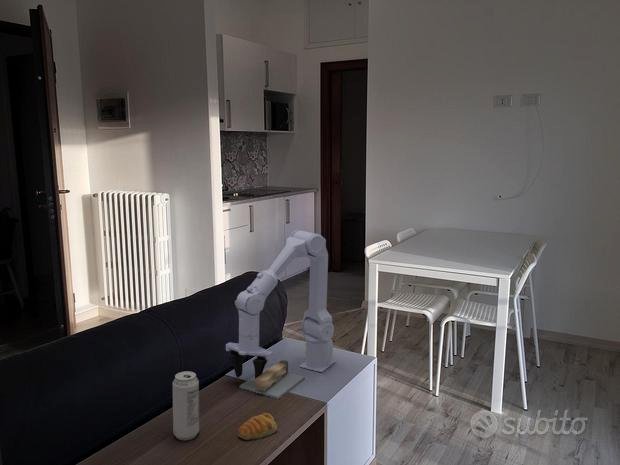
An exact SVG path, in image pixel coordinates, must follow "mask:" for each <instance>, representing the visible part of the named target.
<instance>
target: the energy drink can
mask: <svg viewBox="0 0 620 465" xmlns="http://www.w3.org/2000/svg"><path fill="white" fill-rule="evenodd" d="M199 389H200V381H199V379H198V378H197V374H196V373H195V372H193V371H187V370H186V371H181V372H177V373H176V374H175V375H174V379H173V381H172V426H173V430H172V431H173V432H172V433H173V435H174V436H175V437H176V439H177V440H178V441H179V440H180V441H189V440H192V439H195V438H196V436H197V435H198V433H199V432H200V390H199Z"/></svg>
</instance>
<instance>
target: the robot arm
mask: <svg viewBox="0 0 620 465" xmlns="http://www.w3.org/2000/svg"><path fill="white" fill-rule="evenodd" d="M326 243H327V240H326V238H325V237H324V236H322V235H321V234H320V233H314V232H310V231H305V230H302V229H295V230H294V231H292V233H291V234H290V236H288V237H287V239H286V243H285V246H284V247H283V249H282V250H281V252H280V253H278V255H277V257H276V259H274V261H273V263H272V264H271V265H270V267H269V268H268V269H265V270H261V271H260V272H258V274H256V278H254V280H253V281H252V283H251V284H250V285H249V286H247V288H246V290H243V291H241V292H239V294H238V295H237V296H236V300H235V301H234V305H235V307H236V309H237V310H238V342H237V343H235V342H231V341H230V342H228V343H226V344H225V351H226V352H230V353H229V354H228V359H229V361H230V363H231V364H232V366H233V370H234V374H235V378H240V377H241V376H243V366H244V365H243V364H244V356H247V355H249V356H253V357H256V358H255V359H253V360H252V364H253V368H254V376H255V379H256V378H257V377H258V376H260V375H261V374H262V373H263V370H265V368H266V365H267V362H268V361H271V360H272V359H274V358H273V357H274V356H273V355H274V354H273V353H274V351H271V350H269V349H265V348H263V347H261V346H260V313H261V311H263V309H264V307H265V302H266V299H267V298H268V297H269V295H270V293H271V292H272V291H273V290H274V288H275V287H276V286H277V285H278V282H279V281H278V277H279V276H280V275H281V274H282V273H283V272H284V271H285V270H286V269H287V267H288V266H290V264H291V263H293V261H294V260H295V259H297V258H304V257H306V258H307V259H308V260H309V285H308V286H309V292H308V293H309V294H308V296H309V297H308V309H307V310H305V311H304V313H303V318H302V321H301V327H300V328H301V331H302V332H303V333H304V338H305V357H304V358H305V359H304V360H305V361H304V362H302V363H301V364H300V365H299V367H300V368H303V369H307V370H310V371H315V372H319V373H323V372H324V371H326V370H327V369H329V367H331V366H333V364H335V363H336V361H335V360H334V359H333V351H334V350H333V346H334V342H333V339H332V338H333V336H334V334H335V327H334V325H333V316H331V314H330V313H329V311H328V310H327V301H328V300H327V299H328V276H329V275H328V272H329V271H328V268H329V253H328V249H327V246H326V245H327V244H326Z"/></svg>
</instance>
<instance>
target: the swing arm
mask: <svg viewBox="0 0 620 465" xmlns="http://www.w3.org/2000/svg"><path fill="white" fill-rule="evenodd" d="M288 370H289V361H288V360H285V359H284V360H280V361H279V362H276V363H275V364H274V365H272V366H271V367H269V369H268V370H267V371H265V372H264V373H263V374H261V375H260V376H258V377H257V378H256V379H255V388H258V389H262V390H265V389H266V388H267V387H268V386H270V385H271V384H272V383H273V382H275V381H276V380H277V379H278V378H280V377H281V376H282V375H283V374H287V373H288V372H289V371H288Z"/></svg>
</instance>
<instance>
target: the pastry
mask: <svg viewBox="0 0 620 465" xmlns="http://www.w3.org/2000/svg"><path fill="white" fill-rule="evenodd" d="M277 430H278V426H277V423H276V421H275V418H274V417H273V416H272V414H270V413H266V412H263V413H262V414H259V415H255V416H252V417H250V418H249V419H248V420H247V421H246V422H244V423H243V424H241V426H240V427H239V428H238V431H237V437H239V438H241V439H243V440H246V441H250V440H258V439H262V438H265V437H268V436H270V434H271V435H273V434H274V433H276V431H277ZM272 433H273V434H272Z"/></svg>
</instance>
